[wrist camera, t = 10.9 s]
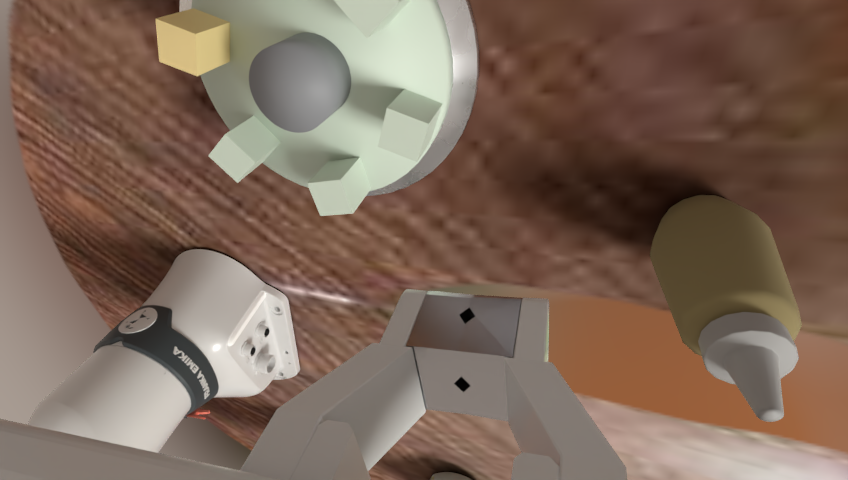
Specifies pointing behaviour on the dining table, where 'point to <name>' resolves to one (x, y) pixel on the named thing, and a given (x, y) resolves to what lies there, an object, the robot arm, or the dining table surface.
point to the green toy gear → (318, 87)
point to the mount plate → (463, 89)
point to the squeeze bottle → (729, 296)
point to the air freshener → (448, 476)
